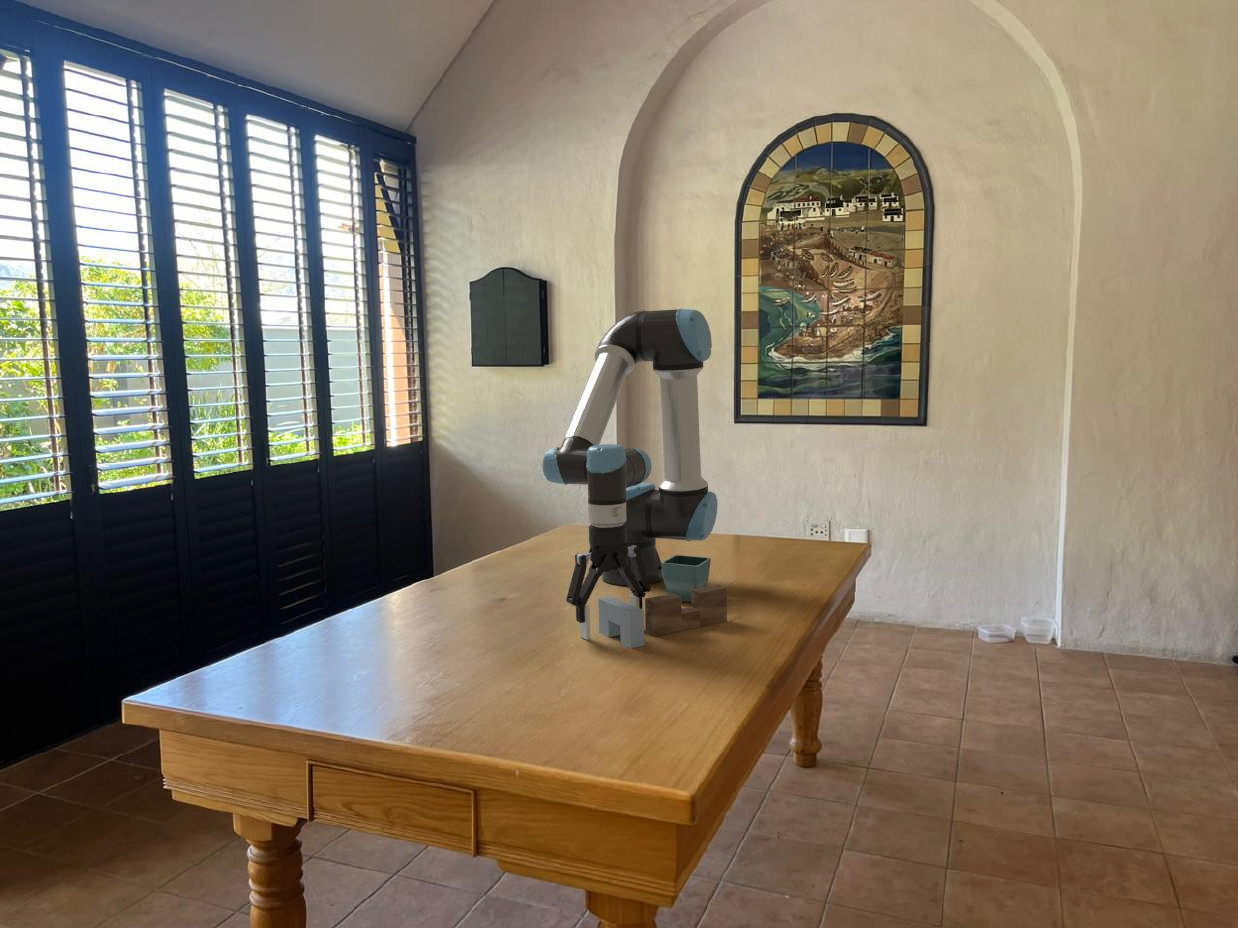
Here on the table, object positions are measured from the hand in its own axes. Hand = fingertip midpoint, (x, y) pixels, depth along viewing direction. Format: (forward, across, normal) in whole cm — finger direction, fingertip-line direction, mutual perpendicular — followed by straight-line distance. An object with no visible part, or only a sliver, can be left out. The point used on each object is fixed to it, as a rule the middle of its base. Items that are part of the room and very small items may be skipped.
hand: (610, 632), depth 187 cm
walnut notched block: (0, +15, -5) cm, 16 cm away
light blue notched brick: (0, 0, -4) cm, 4 cm away
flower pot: (0, +27, +12) cm, 30 cm away
